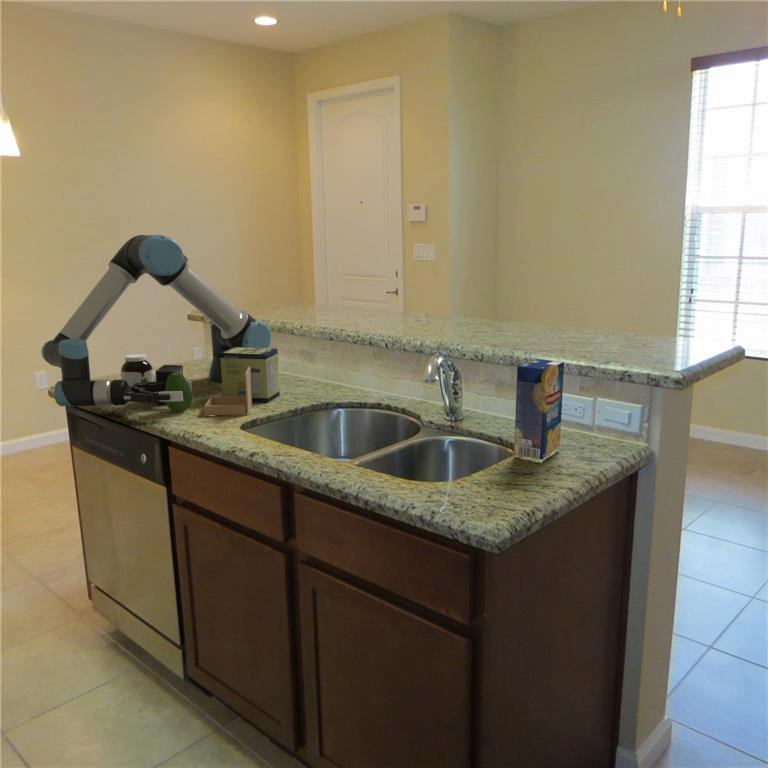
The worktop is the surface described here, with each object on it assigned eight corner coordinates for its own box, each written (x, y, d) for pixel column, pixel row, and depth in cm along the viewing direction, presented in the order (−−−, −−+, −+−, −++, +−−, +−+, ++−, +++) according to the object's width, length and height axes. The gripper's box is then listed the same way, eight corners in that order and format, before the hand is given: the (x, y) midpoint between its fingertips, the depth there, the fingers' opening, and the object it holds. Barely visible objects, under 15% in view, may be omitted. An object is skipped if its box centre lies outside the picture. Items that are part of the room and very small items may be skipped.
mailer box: (210, 406, 215) (208, 367, 212) (252, 405, 216) (250, 366, 213) (205, 416, 203) (202, 375, 201) (248, 415, 205) (246, 374, 202)
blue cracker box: (559, 451, 170) (564, 361, 165) (541, 463, 162) (545, 369, 157) (533, 446, 174) (537, 358, 169) (513, 458, 165) (517, 366, 161)
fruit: (199, 410, 210) (197, 371, 207) (180, 416, 203) (177, 376, 200) (179, 407, 214) (176, 368, 211) (159, 413, 207) (156, 373, 204)
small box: (178, 404, 218) (175, 370, 215) (156, 404, 217) (154, 371, 215) (185, 396, 228) (183, 364, 226) (165, 396, 228) (162, 364, 225)
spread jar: (125, 394, 231) (122, 359, 229) (118, 387, 241) (115, 353, 238) (162, 389, 237) (159, 355, 235) (154, 383, 247) (151, 350, 244)
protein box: (235, 393, 231) (232, 346, 228) (280, 395, 228) (278, 348, 225) (221, 401, 221) (218, 352, 218) (268, 403, 218) (266, 353, 215)
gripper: (125, 395, 218) (194, 393, 220) (100, 416, 194) (179, 414, 196) (122, 371, 217) (193, 369, 218) (98, 389, 192) (177, 387, 194)
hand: (187, 390), depth 207 cm, fingers open, 13 cm apart
